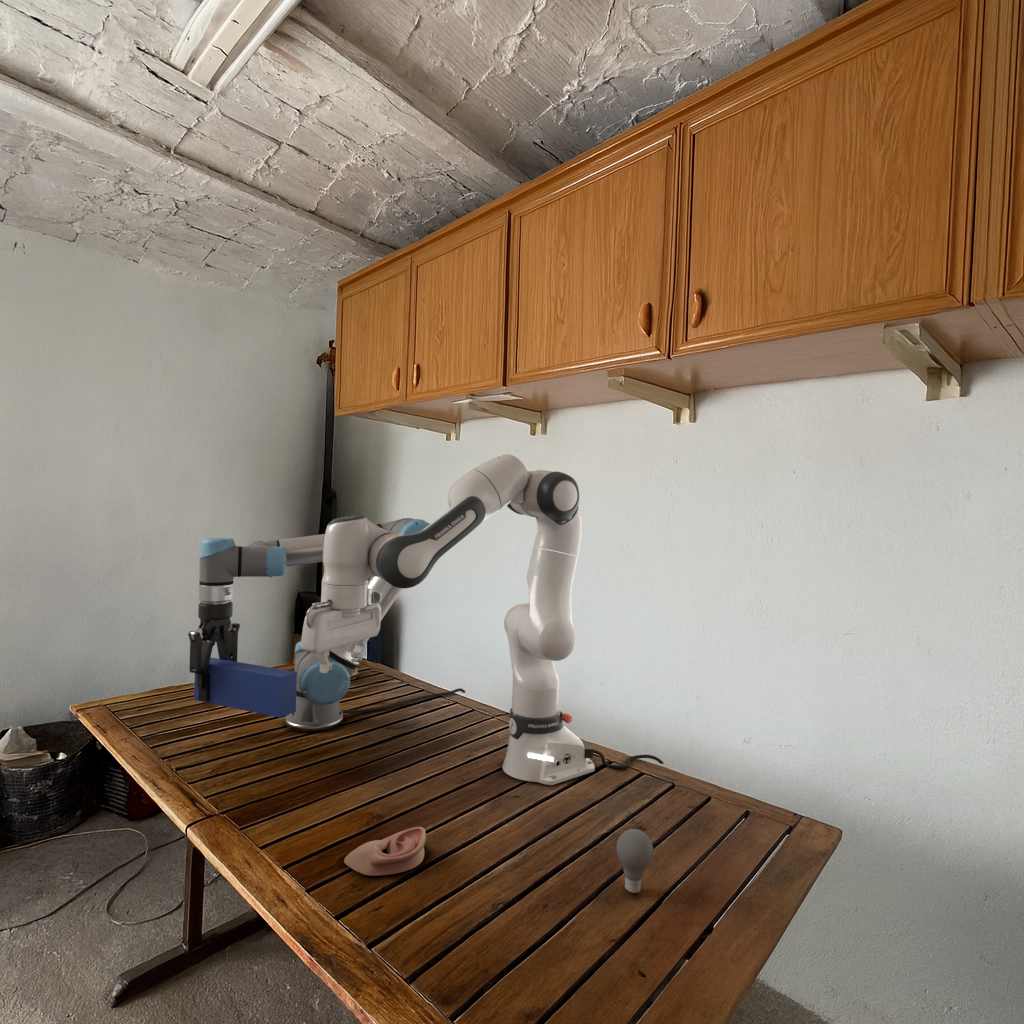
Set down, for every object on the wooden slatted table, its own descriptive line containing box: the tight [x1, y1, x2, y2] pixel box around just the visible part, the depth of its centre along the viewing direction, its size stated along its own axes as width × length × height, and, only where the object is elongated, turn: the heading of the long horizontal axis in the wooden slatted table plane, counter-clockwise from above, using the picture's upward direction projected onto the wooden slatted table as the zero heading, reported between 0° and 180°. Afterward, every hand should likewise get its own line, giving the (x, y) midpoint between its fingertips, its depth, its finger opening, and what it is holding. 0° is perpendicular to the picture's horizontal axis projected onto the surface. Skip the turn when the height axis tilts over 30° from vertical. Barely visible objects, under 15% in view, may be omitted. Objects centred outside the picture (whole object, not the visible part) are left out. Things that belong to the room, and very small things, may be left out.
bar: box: [193, 657, 297, 719], centre depth 150 cm, size 27×5×9 cm, turn 68°
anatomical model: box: [343, 826, 427, 877], centre depth 112 cm, size 13×4×12 cm
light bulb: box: [615, 828, 654, 894], centre depth 106 cm, size 6×6×10 cm
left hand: (213, 696), depth 154 cm, fingers closed on bar, 5 cm apart
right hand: (341, 666), depth 126 cm, fingers open, 8 cm apart
